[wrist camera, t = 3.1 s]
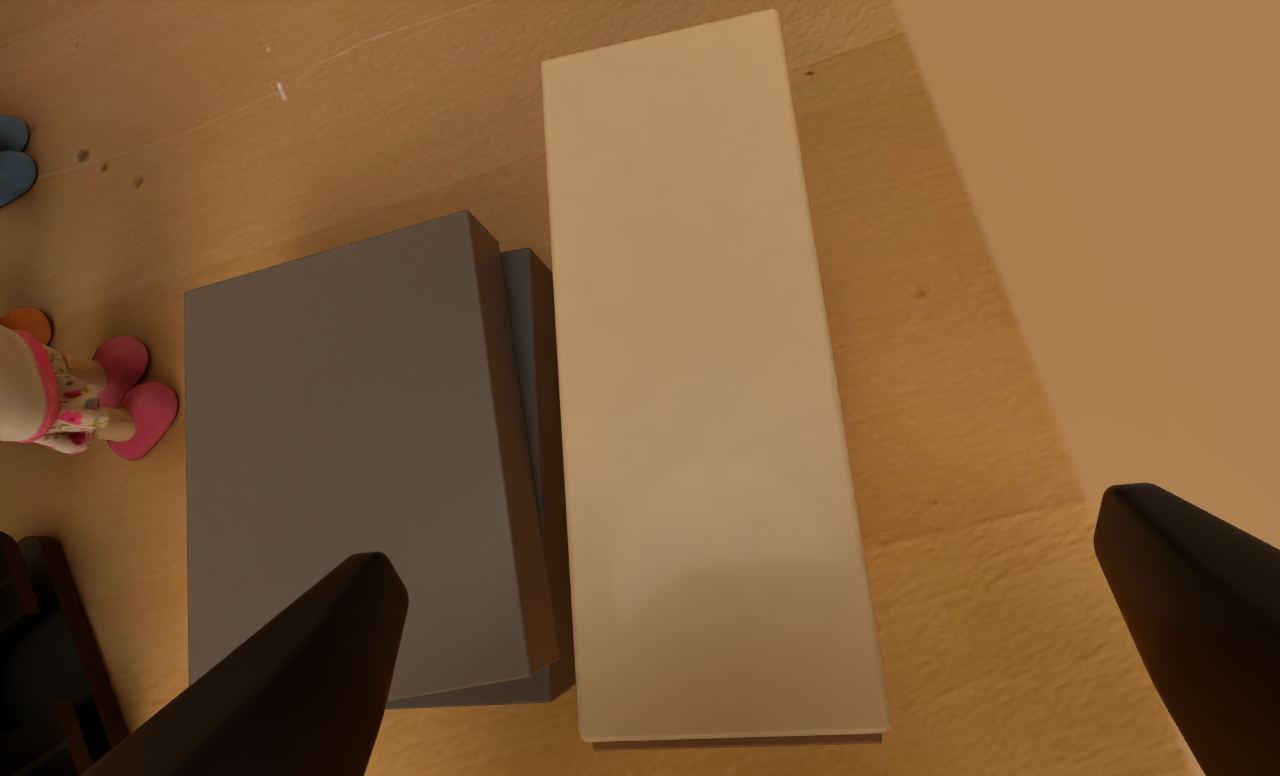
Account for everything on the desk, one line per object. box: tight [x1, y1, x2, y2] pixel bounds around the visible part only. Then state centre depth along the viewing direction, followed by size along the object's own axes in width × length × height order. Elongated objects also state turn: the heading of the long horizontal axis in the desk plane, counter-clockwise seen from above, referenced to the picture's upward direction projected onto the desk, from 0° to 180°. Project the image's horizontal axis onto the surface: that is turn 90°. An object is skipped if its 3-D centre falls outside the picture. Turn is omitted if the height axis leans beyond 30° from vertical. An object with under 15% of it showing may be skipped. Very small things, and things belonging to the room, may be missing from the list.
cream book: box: [541, 9, 892, 751], centre depth 13 cm, size 9×3×10 cm, turn 5°
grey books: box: [184, 210, 576, 709], centre depth 18 cm, size 12×10×4 cm
